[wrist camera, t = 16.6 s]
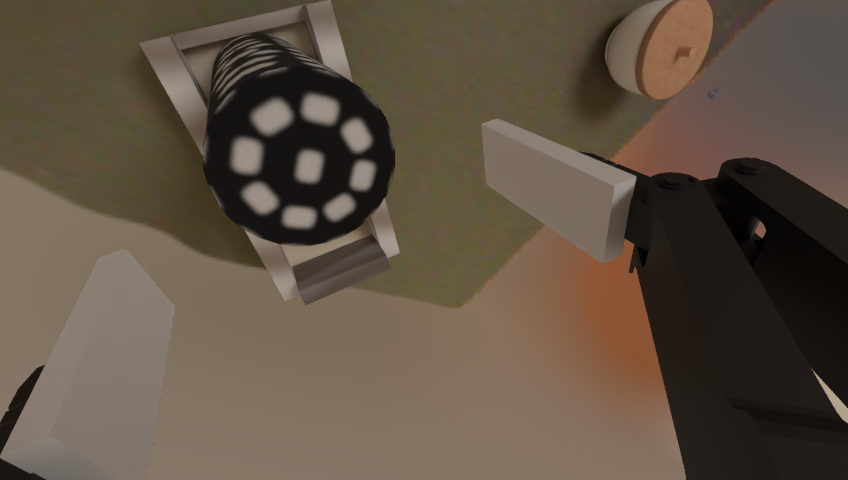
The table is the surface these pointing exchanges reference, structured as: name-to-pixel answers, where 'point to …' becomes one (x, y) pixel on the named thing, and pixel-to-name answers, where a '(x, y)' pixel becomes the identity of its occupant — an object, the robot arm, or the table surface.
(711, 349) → the robot arm
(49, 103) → the table surface
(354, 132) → the white-spotted black cylinder
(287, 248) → the marbled beige tray
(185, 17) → the table surface
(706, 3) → the lidded jar
